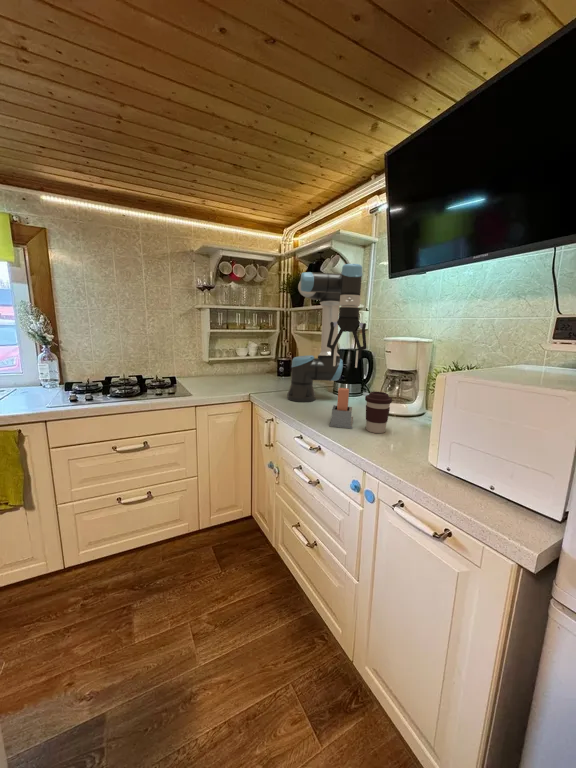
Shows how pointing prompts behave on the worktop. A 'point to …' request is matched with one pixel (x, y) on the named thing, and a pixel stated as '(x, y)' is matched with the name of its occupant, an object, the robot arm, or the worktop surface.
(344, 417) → the grey holder stand
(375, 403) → the coffee cup
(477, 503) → the worktop surface
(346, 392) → the orange rectangular bar
